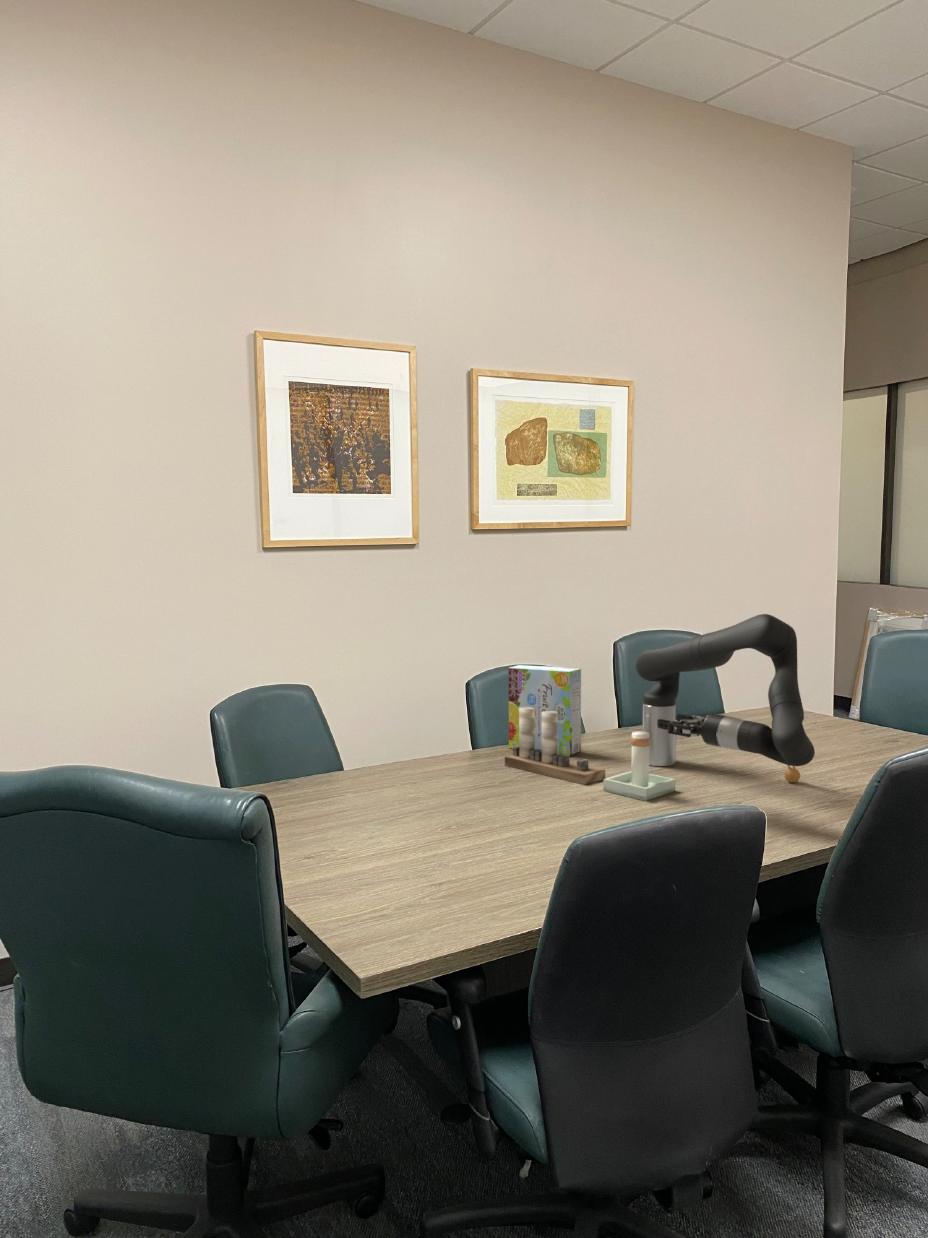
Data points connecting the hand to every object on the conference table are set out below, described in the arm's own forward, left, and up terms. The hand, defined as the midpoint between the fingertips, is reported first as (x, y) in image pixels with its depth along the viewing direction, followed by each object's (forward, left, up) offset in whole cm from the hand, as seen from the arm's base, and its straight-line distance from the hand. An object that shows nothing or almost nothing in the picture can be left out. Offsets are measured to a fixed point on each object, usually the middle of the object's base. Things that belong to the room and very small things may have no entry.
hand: (668, 720), depth 218 cm
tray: (0, -8, -19) cm, 21 cm away
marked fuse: (0, -8, -18) cm, 20 cm away
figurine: (-34, +16, -20) cm, 42 cm away
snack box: (-17, -55, -20) cm, 61 cm away
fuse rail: (+1, -36, -19) cm, 41 cm away
